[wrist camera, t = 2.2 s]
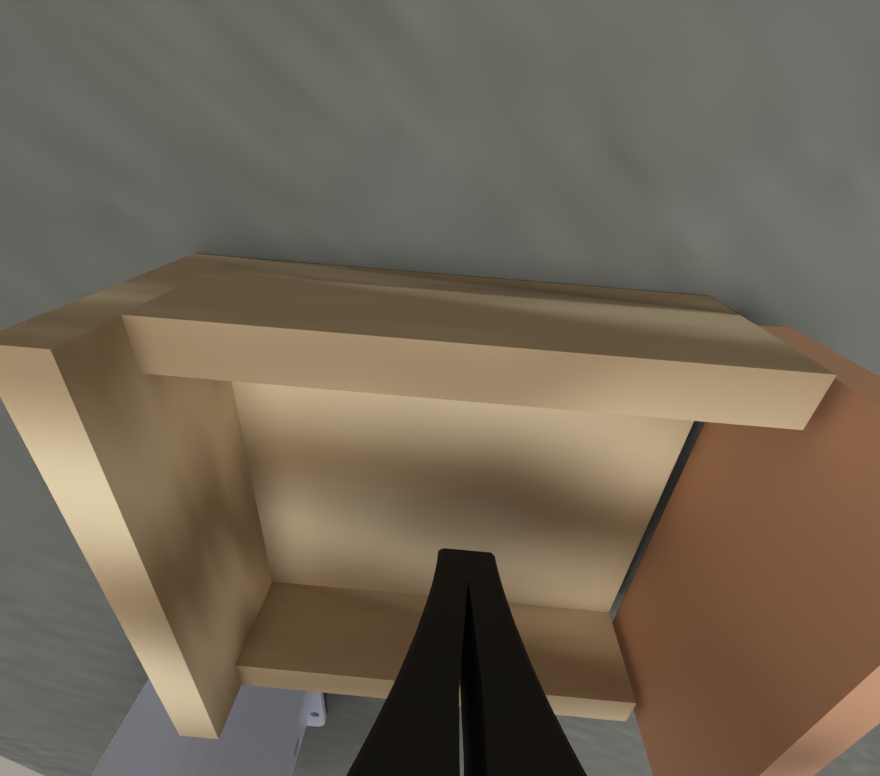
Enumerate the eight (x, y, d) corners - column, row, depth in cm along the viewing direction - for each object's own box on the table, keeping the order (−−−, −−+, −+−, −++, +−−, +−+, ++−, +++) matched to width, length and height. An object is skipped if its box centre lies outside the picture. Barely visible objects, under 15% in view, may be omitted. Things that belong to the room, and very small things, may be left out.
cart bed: (591, 595, 18) (641, 780, 13) (262, 565, 18) (179, 735, 13) (709, 296, 11) (914, 422, 6) (194, 253, 12) (-29, 343, 6)
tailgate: (650, 632, 16) (736, 857, 11) (609, 628, 16) (675, 851, 11) (817, 329, 10) (1185, 524, 5) (750, 324, 10) (1047, 512, 5)
